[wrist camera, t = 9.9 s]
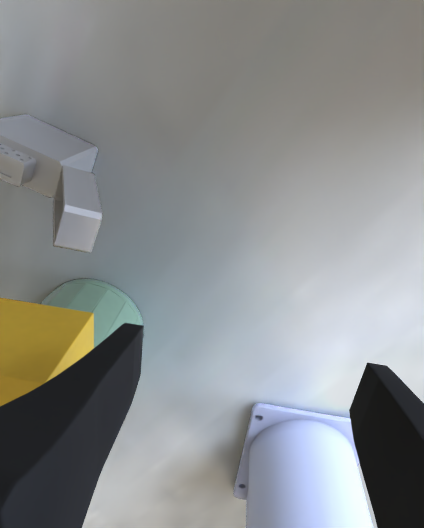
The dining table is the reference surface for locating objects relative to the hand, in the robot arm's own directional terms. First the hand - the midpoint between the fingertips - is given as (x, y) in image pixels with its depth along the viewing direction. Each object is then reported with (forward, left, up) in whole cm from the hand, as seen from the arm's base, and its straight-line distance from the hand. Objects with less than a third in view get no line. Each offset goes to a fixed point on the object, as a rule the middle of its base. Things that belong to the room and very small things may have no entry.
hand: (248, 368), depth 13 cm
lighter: (+3, +10, -11) cm, 15 cm away
